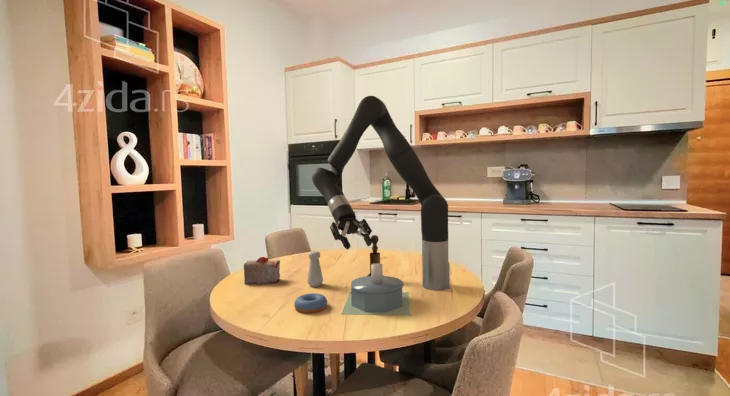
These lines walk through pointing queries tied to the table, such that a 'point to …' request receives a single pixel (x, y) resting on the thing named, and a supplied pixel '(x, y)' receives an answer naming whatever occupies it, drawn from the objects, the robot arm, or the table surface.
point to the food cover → (376, 291)
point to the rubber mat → (402, 311)
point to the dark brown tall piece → (374, 252)
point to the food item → (261, 271)
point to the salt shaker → (314, 270)
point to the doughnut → (310, 303)
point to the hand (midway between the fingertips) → (359, 246)
